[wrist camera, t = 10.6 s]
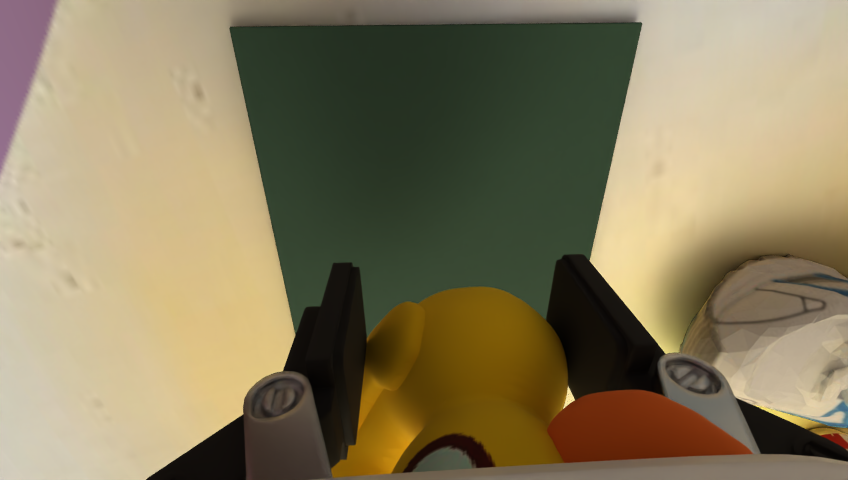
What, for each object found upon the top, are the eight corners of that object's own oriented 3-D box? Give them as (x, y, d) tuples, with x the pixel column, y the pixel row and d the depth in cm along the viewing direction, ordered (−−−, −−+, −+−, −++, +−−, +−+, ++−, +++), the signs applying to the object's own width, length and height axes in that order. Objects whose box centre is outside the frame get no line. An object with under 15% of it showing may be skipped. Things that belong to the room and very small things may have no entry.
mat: (233, 26, 15) (228, 26, 15) (636, 22, 16) (643, 22, 15) (309, 388, 25) (308, 394, 24) (559, 376, 25) (562, 382, 25)
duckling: (505, 168, 12) (789, 552, 3) (608, 266, 14) (974, 687, 5) (295, 375, 16) (148, 823, 7) (398, 431, 17) (389, 842, 9)
